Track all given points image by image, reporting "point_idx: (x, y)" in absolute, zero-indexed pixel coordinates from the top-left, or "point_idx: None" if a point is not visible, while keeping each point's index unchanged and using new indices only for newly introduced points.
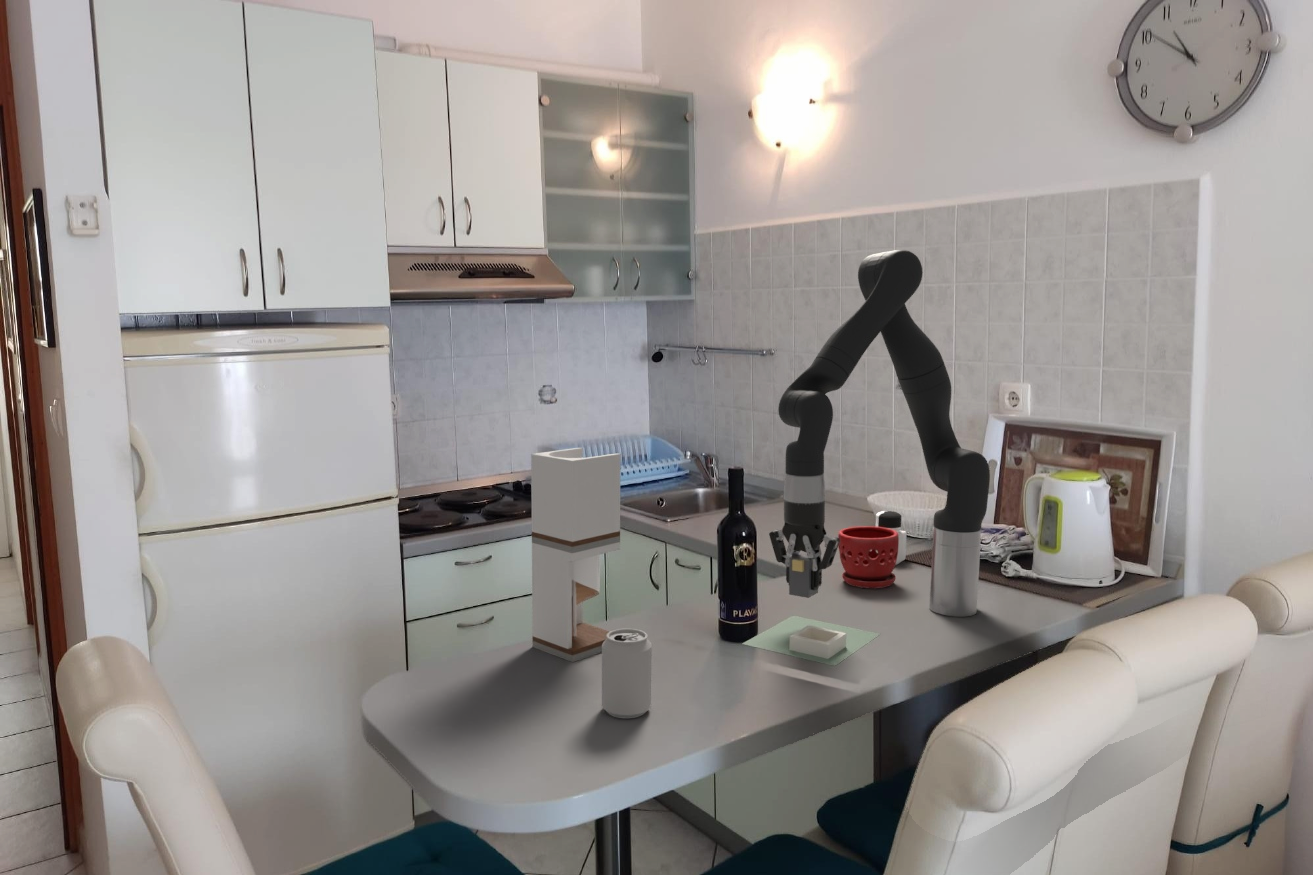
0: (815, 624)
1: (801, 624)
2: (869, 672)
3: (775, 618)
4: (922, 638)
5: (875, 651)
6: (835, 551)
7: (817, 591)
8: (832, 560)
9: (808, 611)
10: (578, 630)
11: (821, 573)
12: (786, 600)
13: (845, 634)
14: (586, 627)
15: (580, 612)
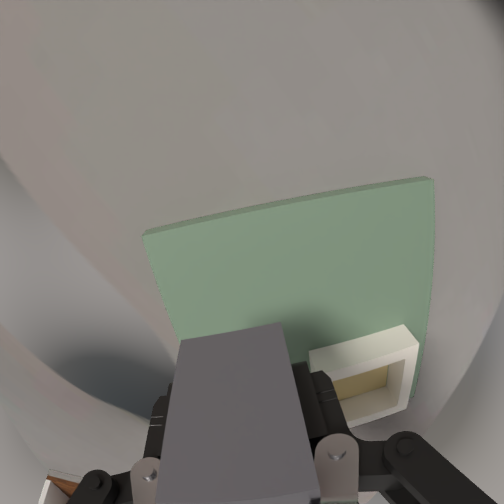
0: (252, 252)
1: (222, 285)
2: (453, 346)
3: (96, 247)
4: (473, 94)
5: (440, 255)
6: (478, 498)
7: (282, 329)
8: (438, 460)
9: (109, 108)
10: None
11: (345, 420)
12: (12, 93)
13: (417, 347)
14: (69, 489)
15: (49, 493)
